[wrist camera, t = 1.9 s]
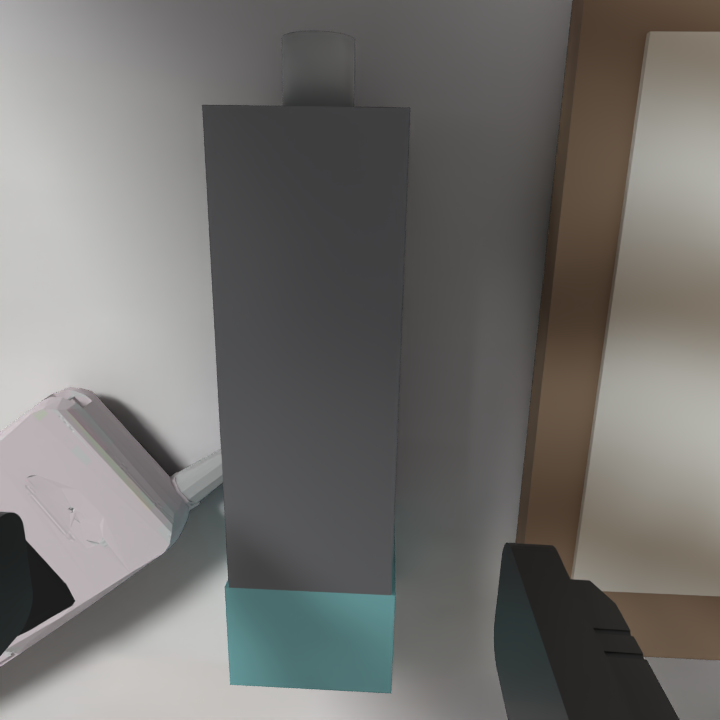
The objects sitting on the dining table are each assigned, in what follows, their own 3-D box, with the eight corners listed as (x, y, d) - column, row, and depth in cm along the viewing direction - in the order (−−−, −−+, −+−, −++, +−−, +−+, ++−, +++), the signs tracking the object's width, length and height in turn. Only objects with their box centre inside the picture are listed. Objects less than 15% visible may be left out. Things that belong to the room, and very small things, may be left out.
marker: (246, 59, 15) (191, 11, 11) (410, 60, 15) (419, 12, 11) (264, 577, 20) (230, 684, 15) (390, 582, 19) (390, 693, 15)
